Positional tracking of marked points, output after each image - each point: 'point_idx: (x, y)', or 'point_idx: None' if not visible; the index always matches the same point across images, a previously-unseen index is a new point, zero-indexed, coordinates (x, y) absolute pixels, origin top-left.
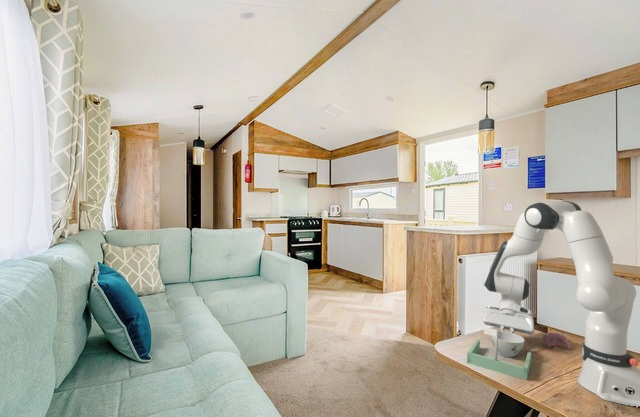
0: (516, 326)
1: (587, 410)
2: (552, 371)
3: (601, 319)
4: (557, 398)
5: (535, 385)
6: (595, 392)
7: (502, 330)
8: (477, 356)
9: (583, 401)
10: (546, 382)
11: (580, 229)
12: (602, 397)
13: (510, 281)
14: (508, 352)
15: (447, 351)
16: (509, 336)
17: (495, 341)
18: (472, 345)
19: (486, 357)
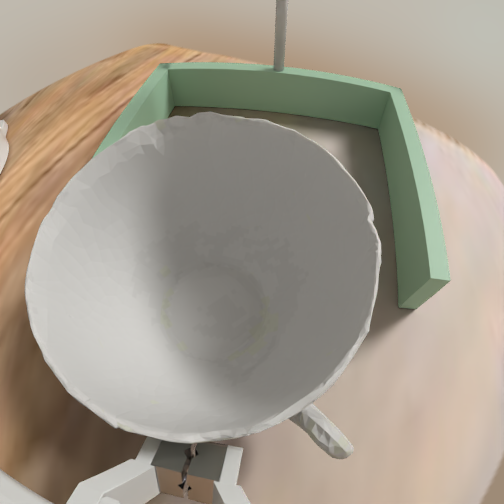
0: (7, 497)
1: (75, 72)
2: (32, 212)
3: None
4: (116, 73)
5: None
6: (3, 134)
7: (234, 502)
8: (357, 81)
9: (59, 94)
10: (102, 120)
11: None
12: (6, 124)
13: None
14: (204, 202)
15: (484, 186)
16: (152, 418)
17: None
18: (424, 158)
19: (320, 75)
